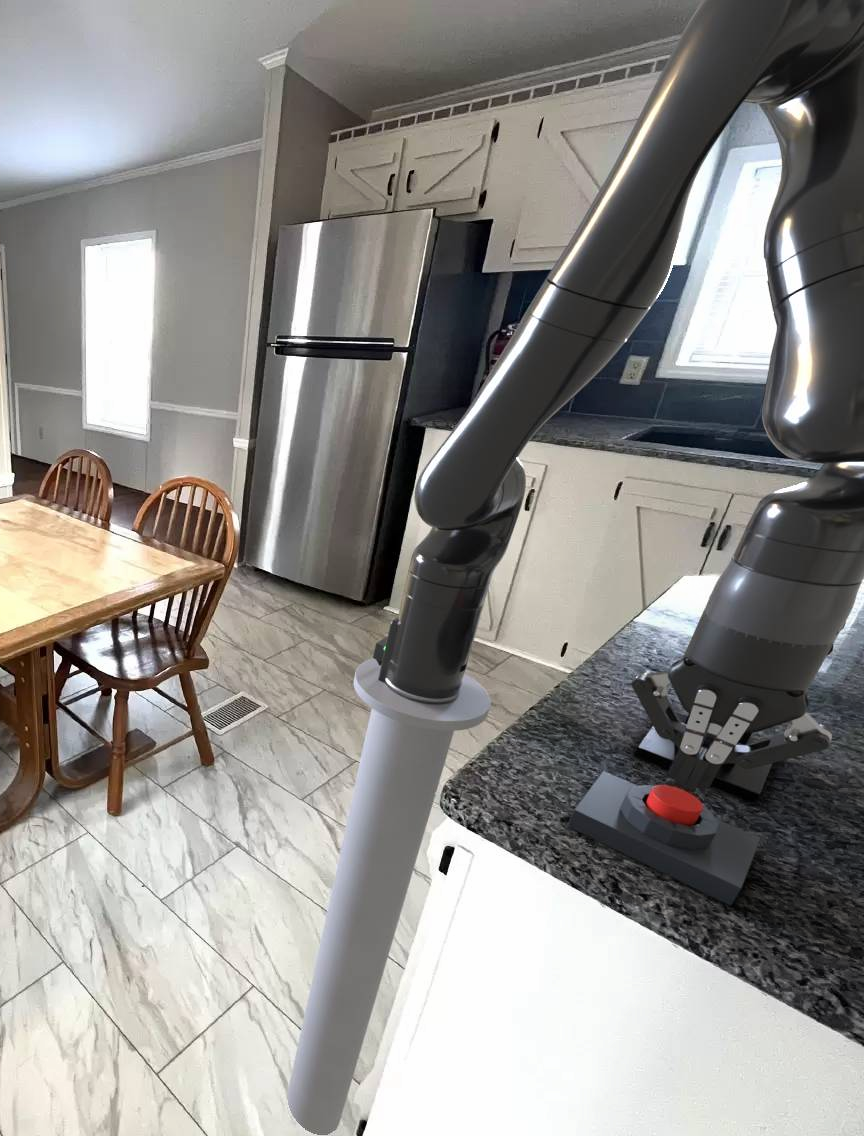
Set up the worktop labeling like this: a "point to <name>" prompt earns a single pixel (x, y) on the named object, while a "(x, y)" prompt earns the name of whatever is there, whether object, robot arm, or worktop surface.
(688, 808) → the button
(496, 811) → the worktop surface
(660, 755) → the black metal frame
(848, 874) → the worktop surface
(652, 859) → the button box
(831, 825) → the worktop surface
